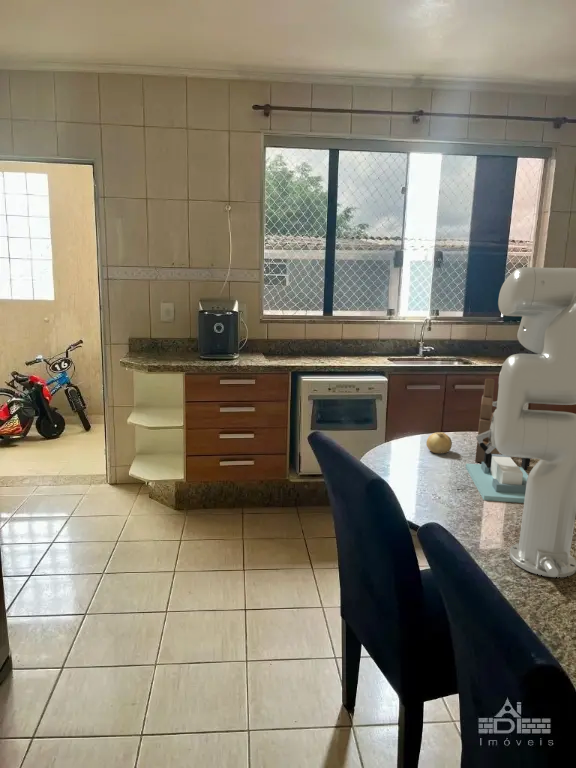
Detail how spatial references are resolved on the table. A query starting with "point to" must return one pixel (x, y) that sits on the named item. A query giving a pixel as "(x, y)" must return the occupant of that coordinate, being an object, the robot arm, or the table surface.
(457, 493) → the table surface
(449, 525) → the table surface
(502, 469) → the white pillar block
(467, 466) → the cradle
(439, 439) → the onion
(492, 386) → the wooden toy
